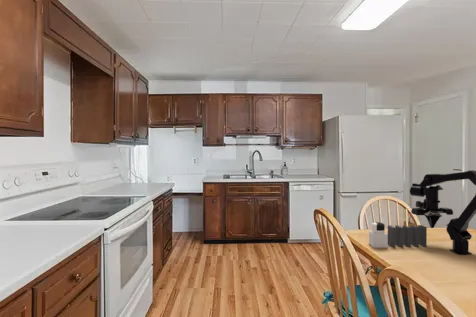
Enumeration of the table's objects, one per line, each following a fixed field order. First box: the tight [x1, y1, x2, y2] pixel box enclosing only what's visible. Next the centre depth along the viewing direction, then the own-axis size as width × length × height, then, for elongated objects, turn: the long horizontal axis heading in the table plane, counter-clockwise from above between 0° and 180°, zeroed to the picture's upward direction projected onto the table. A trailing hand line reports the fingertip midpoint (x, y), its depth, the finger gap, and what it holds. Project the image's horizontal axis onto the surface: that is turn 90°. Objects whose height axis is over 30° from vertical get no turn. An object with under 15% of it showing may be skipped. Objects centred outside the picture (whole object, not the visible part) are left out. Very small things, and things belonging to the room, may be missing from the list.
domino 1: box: [387, 224, 397, 248], centre depth 163 cm, size 5×2×10 cm, turn 1°
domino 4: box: [409, 224, 420, 248], centre depth 163 cm, size 5×2×10 cm, turn 1°
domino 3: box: [402, 224, 412, 248], centre depth 163 cm, size 5×2×10 cm, turn 1°
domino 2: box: [394, 224, 404, 248], centre depth 163 cm, size 5×2×10 cm, turn 1°
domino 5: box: [417, 224, 428, 248], centre depth 164 cm, size 5×2×10 cm, turn 1°
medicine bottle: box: [368, 221, 389, 249], centre depth 163 cm, size 7×7×12 cm
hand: (431, 227), depth 163 cm, fingers closed
